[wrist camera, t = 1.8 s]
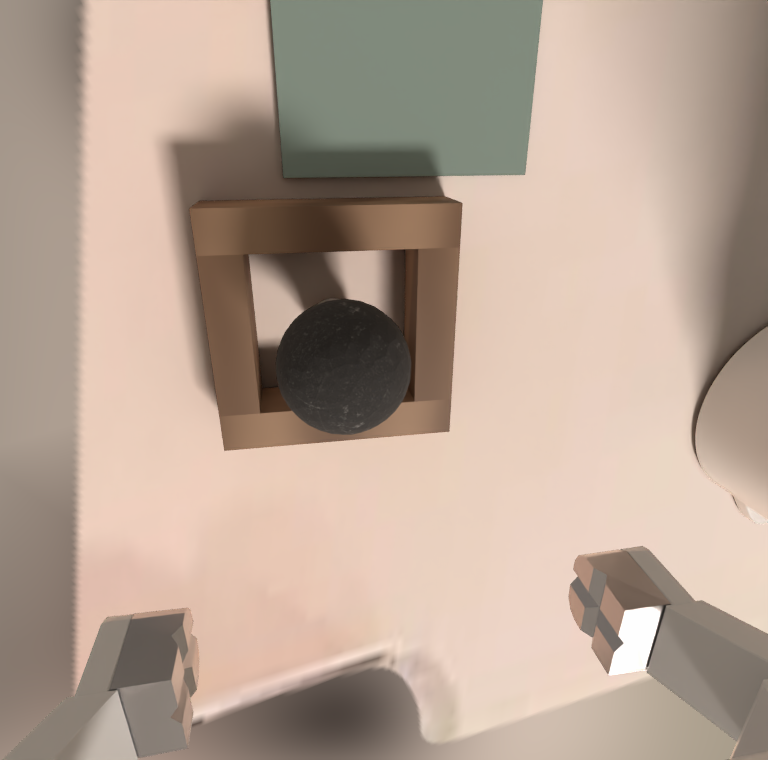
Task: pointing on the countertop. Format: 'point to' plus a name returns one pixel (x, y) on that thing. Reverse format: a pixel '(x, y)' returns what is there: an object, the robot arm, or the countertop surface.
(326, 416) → the light bulb
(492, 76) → the rubber mat
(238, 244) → the socket block
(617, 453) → the countertop surface
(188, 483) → the countertop surface
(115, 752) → the robot arm
